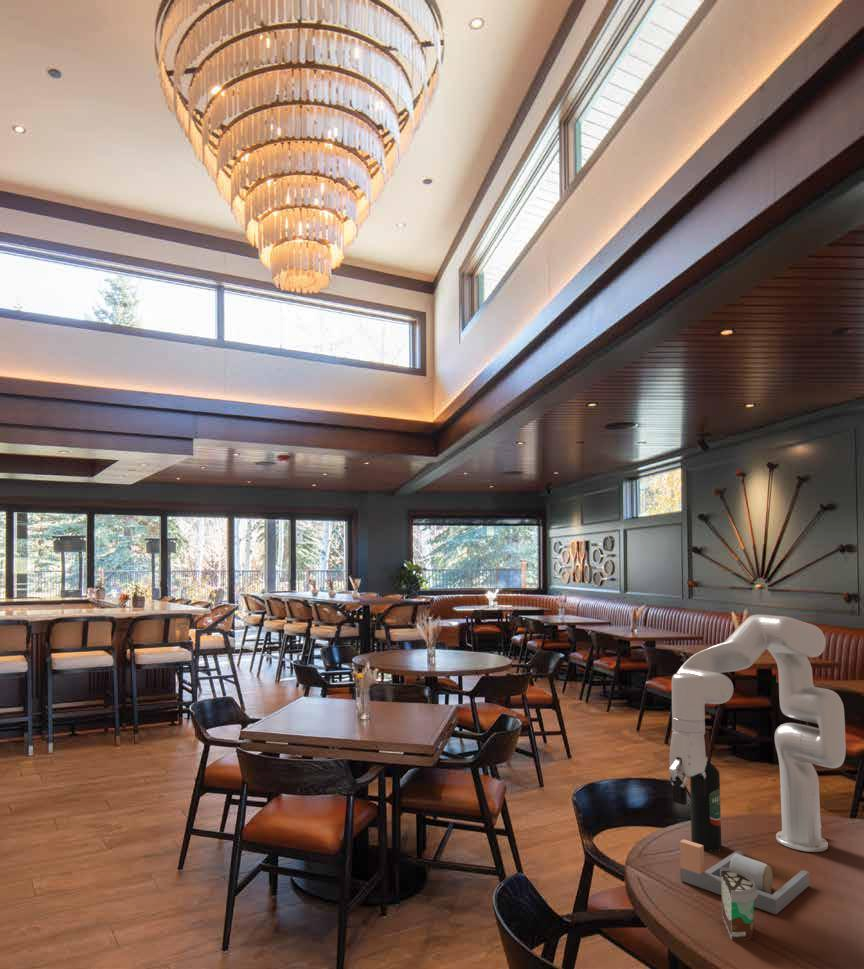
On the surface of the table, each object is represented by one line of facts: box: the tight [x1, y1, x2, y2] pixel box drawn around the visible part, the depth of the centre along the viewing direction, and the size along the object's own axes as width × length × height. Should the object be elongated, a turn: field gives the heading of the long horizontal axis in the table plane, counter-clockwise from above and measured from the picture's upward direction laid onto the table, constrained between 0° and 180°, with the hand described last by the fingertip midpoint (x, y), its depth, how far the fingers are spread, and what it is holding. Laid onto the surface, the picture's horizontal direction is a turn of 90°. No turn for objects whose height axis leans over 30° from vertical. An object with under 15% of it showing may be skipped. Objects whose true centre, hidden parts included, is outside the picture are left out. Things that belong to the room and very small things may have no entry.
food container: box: [720, 867, 758, 941], centre depth 148 cm, size 12×6×10 cm, turn 168°
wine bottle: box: [689, 729, 722, 852], centre depth 193 cm, size 8×8×30 cm
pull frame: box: [679, 838, 810, 915], centre depth 170 cm, size 20×22×9 cm
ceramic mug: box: [730, 854, 773, 894], centre depth 166 cm, size 11×8×8 cm
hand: (689, 798), depth 171 cm, fingers open, 9 cm apart
